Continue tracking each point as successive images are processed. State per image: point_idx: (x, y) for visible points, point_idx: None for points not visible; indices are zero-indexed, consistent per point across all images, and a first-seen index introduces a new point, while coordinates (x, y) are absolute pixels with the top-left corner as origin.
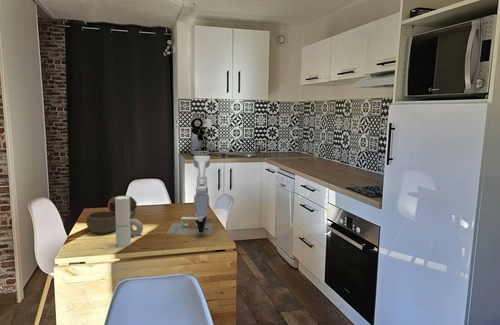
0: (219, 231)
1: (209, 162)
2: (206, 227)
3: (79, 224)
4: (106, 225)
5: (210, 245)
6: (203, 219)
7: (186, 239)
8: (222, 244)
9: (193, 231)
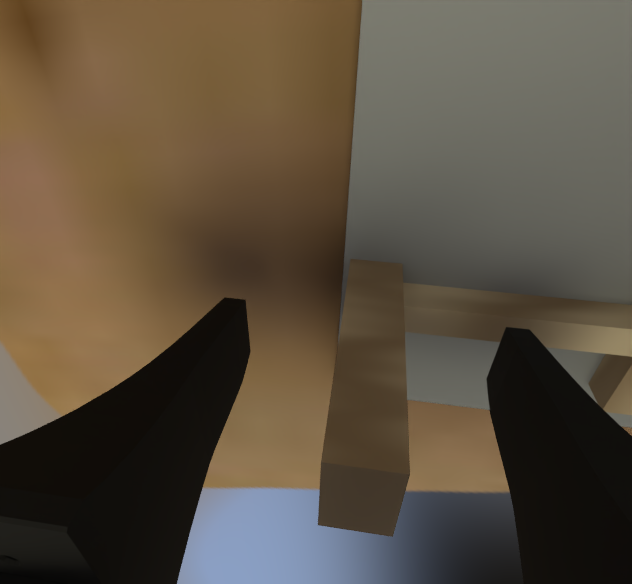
0: None
1: None
2: (629, 391)
3: None
4: None
5: (17, 355)
6: (547, 567)
7: (122, 3)
8: None
9: (567, 138)
